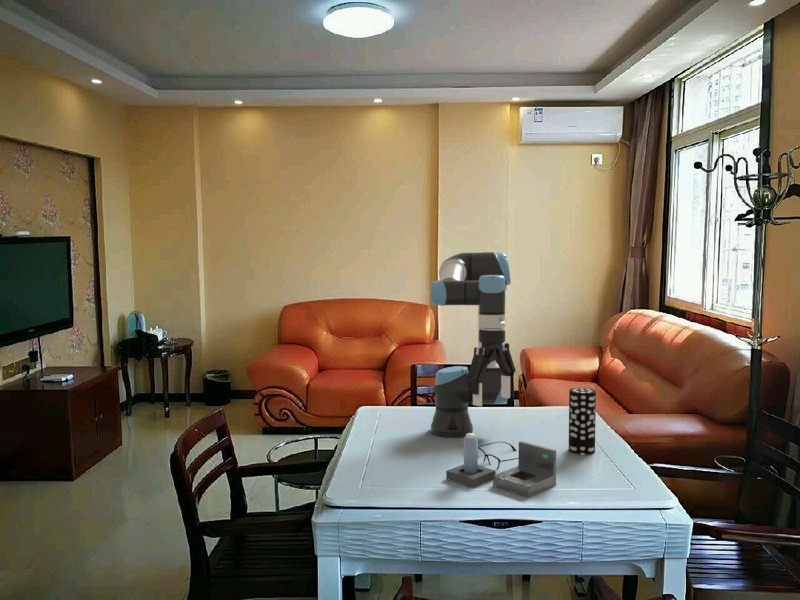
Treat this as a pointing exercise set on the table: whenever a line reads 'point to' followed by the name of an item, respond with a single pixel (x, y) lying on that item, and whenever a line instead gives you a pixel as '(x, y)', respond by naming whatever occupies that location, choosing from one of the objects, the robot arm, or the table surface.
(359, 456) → the table surface
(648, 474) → the table surface
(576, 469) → the table surface
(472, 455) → the plug
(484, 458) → the eyeglasses
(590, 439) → the white-spotted black cylinder
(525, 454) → the port
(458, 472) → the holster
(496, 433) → the table surface
